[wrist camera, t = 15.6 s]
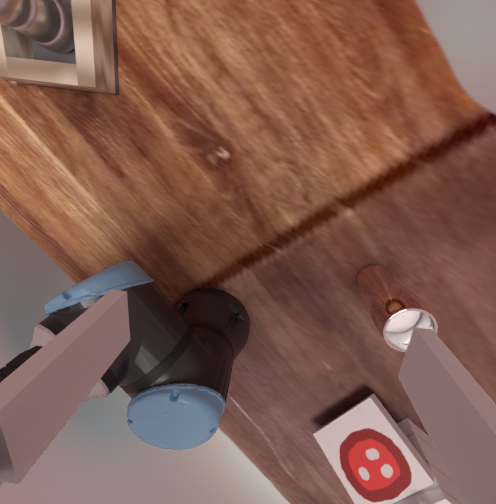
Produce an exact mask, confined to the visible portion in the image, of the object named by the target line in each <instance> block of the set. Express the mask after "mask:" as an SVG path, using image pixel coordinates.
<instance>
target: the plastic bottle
mask: <svg viewBox="0 0 496 504" xmlns="http://www.w3.org/2000/svg"><path fill="white" fill-rule="evenodd" d="M0 24H2V25H5V26H7V27H10V28H12V29H15V30H17V31H18V32H20V33H22V34H24V35H25V36H27V37H29V38H31V39H32V40H33V41H34V42H36V43H37V44H39V45H40V46H42V47H44V48H45V49H47V50H50V51H53V52H58V53H67V52H70V51H71V50H73V49H74V48H75V42H74V30H73V18H72V10H71V9H70V7H69V6H68V5H67V4H66V3H65V2H63V1H62V0H0Z"/></svg>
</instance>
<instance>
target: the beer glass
mask: <svg viewBox="0 0 496 504" xmlns="http://www.w3.org/2000/svg"><path fill="white" fill-rule="evenodd" d="M356 285H357V288H358V290H359V291H360V292H361V293H362V294H363V295H364V296H365V297H366V301H367V306H368V310H369V313H370V316H371V319H372V321H373V323H374V325H375V326H376V328H377V330H378V331H379V332H380V334H381V335H382V337H383V338H384V340H385V341H386V343H387V344H388V345H389V346H390V347H391V348H393V349H395V350H398V351H401V352H406V350H407V347H408V344H409V341H410V338H411V335H412V332H413V329H414V327H416V328H424V329H432V330H433V331H434V332H435V334H436V335H437V331H438V325H437V321H436V319H435V318H434V317H433V315H432V314H431V313H430V312H429V310H428V309H427V307H426V306H425V305H424V304H423V302H422V301H421V300H420V299H419V298H418V297H417V296H416V295H415V294H414V293H413V292H412V291H410V290H409V289H407V288H406V287H404V286H403V285H401V284H400V283H398V282H396V281H395V280H394V278H393V276H392V274H391V272H390V271H389V270H388V269H387V268H386V267H384V266H381V265H370V266H367V267H365V268H364V269H362V270H361V271H360V272H359V274H358V276H357V279H356Z"/></svg>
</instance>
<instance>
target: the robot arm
mask: <svg viewBox="0 0 496 504" xmlns="http://www.w3.org/2000/svg"><path fill="white" fill-rule="evenodd" d="M44 309H45V313H46V314H47V315H50V316H49V317H47V318H46V319H44V320H43V321H42V322H40V323H39V324H38V325H36V326H35V328H34V333H33V338H32V343H31V345H30V347H29V348H28V349H27V350H26V351H24V352H23V353H21V354H19V355H18V356H17V357H15V358H14V359H13V360H12V361H10V362H9V363H8V364H6V366H5V367H3V368H1V369H0V486H1V485H2V484H3V483H4V482H8V483H14V484H19V483H20V482H21V480H22V479H23V478H24V477H25V475H26V474H27V472H28V471H29V470H30V469H31V467H32V466H33V465H34V464H35V462H36V461H37V459H38V458H39V457H40V456H41V455H42V453H43V452H44V451H45V449H46V448H47V447H48V446H49V444H50V443H51V442H52V440H53V439H54V438H55V437H56V435H57V434H58V433H59V431H60V430H61V429H62V427H63V426H64V425H65V424H66V422H67V421H68V420H69V418H70V417H71V416H72V415H73V413H74V412H75V411H76V409H77V408H78V407H79V406H80V405H81V404H82V403H83V402H84V401H86V400H89V399H94V398H101V397H107V396H108V395H109V394H110V393H111V392H112V391H113V390H114V389H115V388H116V387H117V386H118V385H119V386H120V387H121V388H122V389H123V390H124V391H125V392H126V393H127V394H128V395H129V396H130V397H131V398H132V400H131V401H130V403H129V406H128V411H127V418H128V420H127V422H128V425H129V427H130V429H131V430H132V431H133V433H134V434H135V435H136V436H137V437H139V438H140V439H142V440H143V441H145V442H146V443H148V444H151V445H153V446H157V447H160V448H164V449H173V450H182V449H189V448H193V447H196V446H199V445H201V444H203V443H205V442H206V441H207V440H209V439H210V438H211V437H212V436H213V435H214V434H215V432H216V430H217V428H218V426H219V423H220V419H221V416H222V413H223V412H224V409H225V403H226V398H227V392H228V387H229V382H230V377H231V371H232V366H233V361H234V359H235V358H236V357H237V355H238V354H239V353H240V352H241V350H242V349H243V348H244V346H245V344H246V342H247V339H248V335H249V329H250V322H249V317H248V314H247V312H246V310H245V308H244V307H243V305H242V304H241V303H240V302H239V301H238V300H237V299H236V298H234V297H233V296H231V295H230V294H228V293H226V292H223V291H220V290H215V289H201V290H197V291H194V292H191V293H189V294H188V295H186V296H185V297H184V298H183V299H182V300H181V301H180V302H179V304H178V305H177V307H176V308H175V307H174V305H173V304H172V303H171V302H170V300H169V299H168V298H167V297H166V296H165V294H164V293H163V292H162V291H161V289H160V288H159V287H158V286H157V285H156V283H155V280H154V279H151V278H150V277H149V276H148V275H147V274H146V273H145V272H144V271H143V270H142V268H141V267H140V266H139V265H138V264H136V263H135V262H132V261H122V262H119V263H117V264H114V265H112V266H110V267H108V268H106V269H104V270H102V271H100V272H98V273H96V274H94V275H93V276H91V277H89V278H87V279H85V280H83V281H82V282H80V283H78V284H76V285H75V286H73V287H71V288H70V289H68V290H66V291H65V292H63V293H61V294H59V295H57V296H55V297H54V298H52V299H51V300H49V301H48V302H47V303H46V304H45V305H44ZM398 378H399V380H400V382H401V384H402V386H403V388H404V389H405V391H406V393H407V395H408V397H409V399H410V401H411V403H412V405H413V407H414V409H415V410H416V412H417V414H418V416H419V418H420V420H421V422H422V424H423V426H424V428H425V429H426V431H427V433H428V435H429V437H430V439H431V441H432V443H433V445H434V447H435V449H436V450H437V452H438V454H439V456H440V458H441V460H442V462H443V464H444V466H445V468H446V470H447V471H448V473H449V475H450V477H451V479H452V481H453V483H454V485H455V487H456V489H457V491H458V492H459V494H460V496H461V498H462V500H463V502H464V504H496V404H495V403H494V402H493V401H492V399H491V398H490V397H489V396H488V395H487V393H486V392H485V391H484V390H483V389H482V388H481V386H480V385H479V384H478V383H477V382H476V381H475V379H474V378H473V377H472V376H471V375H470V374H469V372H468V371H467V370H466V369H465V368H464V366H463V365H462V364H461V363H460V362H459V361H458V359H457V358H456V357H455V356H454V355H453V354H452V352H451V351H450V350H449V349H448V348H447V346H446V345H445V344H444V343H443V342H442V341H441V339H440V338H439V337H438V336H437V335H436V334H435V332H434V331H433V330H432V329H424V328H416V327H414V329H413V332H412V335H411V338H410V341H409V344H408V347H407V350H406V353H405V356H404V359H403V362H402V365H401V368H400V371H399V374H398Z"/></svg>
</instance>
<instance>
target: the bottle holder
mask: <svg viewBox="0 0 496 504" xmlns="http://www.w3.org/2000/svg"><path fill="white" fill-rule="evenodd" d="M62 1H63V2H65V3H66V4H67V5H68V6H69V7H70V9H71V10H72V18H73V30H74V42H75V48H74V49H73V50H71V51H70V52H67V53H58V52H53V51H50V50H47V49H45V48H44V47H42V46H40V45H39V44H37V43H36V42H34V41H33V40H32V39H31V38H29V37H27V36H25V35H24V34H22V33H20V32H18V31H17V30H15V29H12V28H10V27H7V26H5V25H2V24H0V78H4V79H8V80H12V81H16V82H19V83H23V84H27V85H36V86H44V87H53V88H62V89H70V90H79V91H87V92H96V93H104V94H113V95H119V86H118V59H117V33H116V7H115V0H62Z"/></svg>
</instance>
